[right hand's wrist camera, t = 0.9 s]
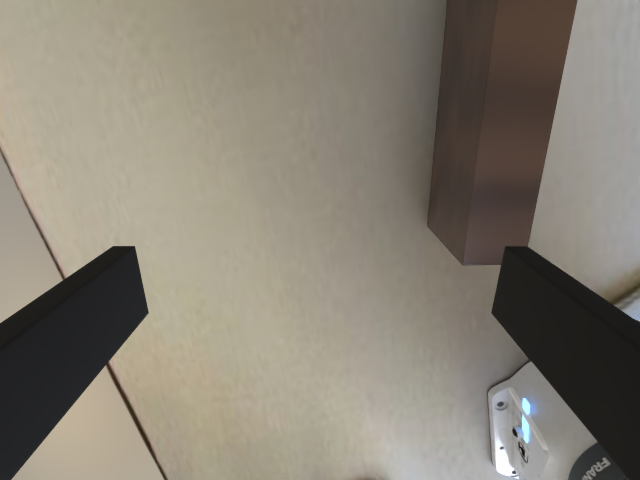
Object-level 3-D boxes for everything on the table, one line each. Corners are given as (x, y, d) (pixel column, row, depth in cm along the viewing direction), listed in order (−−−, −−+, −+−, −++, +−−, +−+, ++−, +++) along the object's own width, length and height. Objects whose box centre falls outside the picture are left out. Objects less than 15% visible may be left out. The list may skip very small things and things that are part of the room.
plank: (454, -78, 28) (519, -168, 19) (515, -80, 28) (612, -171, 19) (427, 226, 38) (462, 265, 28) (473, 225, 38) (524, 264, 28)
